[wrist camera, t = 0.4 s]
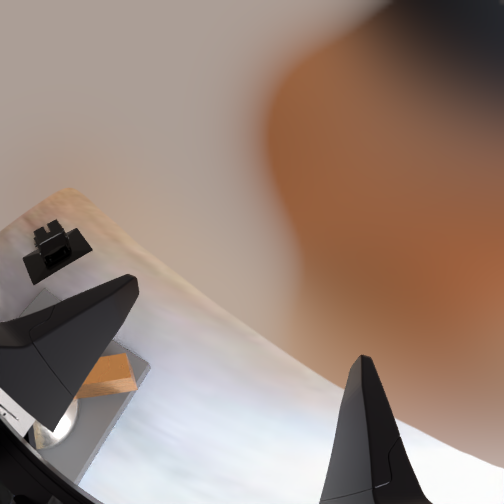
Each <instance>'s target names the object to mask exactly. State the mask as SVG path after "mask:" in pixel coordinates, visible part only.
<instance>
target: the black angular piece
mask: <svg viewBox="0 0 504 504" xmlns="http://www.w3.org/2000/svg"><path fill="white" fill-rule="evenodd" d="M47 227H48V229H49V231H50V232H49V233H46V231H45V229H44V227H41V228H39V229H37V230H36V231H34V235H35V238H34V240H35V247H37V248H38V249H37V250H35V251H33V252H32V253H30V254H28V255H27V256H25V257H23V261H24V263H25V266H26V268H27V271H28V273H29V276H30V278H31V281H32V283H33V285H35V284H37V283H39V282H40V281H42V280H43V279H45V278H47V277H48V276H50V275H51V274H53V273H55V272H56V271H58V270H60V269H61V268H63V267H65V266H66V265H68V264H70V263H71V262H73V261H75V260H77V259H78V258H80V257H82V256H84V255H85V254H87V253H89V252H91V251H92V250H93V249H92V248H91V247H90V245H89V244H88V243H87V241H86V240H85V238H84V237H83V236H82V234H81V233H80V232H79V230H78V229H77V228H75V229H73V230H71V231H70V232H68V233H65V231H64V228H62V226H61V225H60V224H59V222H58V221H57V219H56V220H54V221H52V222H50V223H48V224H47Z"/></svg>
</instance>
